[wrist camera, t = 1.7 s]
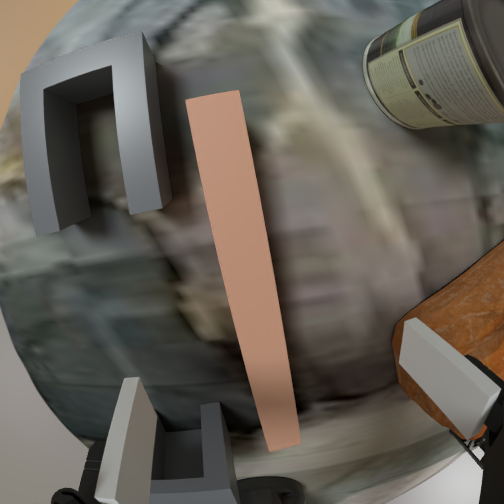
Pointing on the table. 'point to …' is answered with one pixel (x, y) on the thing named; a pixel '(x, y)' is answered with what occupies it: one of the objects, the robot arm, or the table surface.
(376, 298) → the table surface
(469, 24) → the coffee can
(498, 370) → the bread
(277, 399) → the slat
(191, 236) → the table surface
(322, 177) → the table surface
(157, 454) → the cap
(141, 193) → the near end cap
